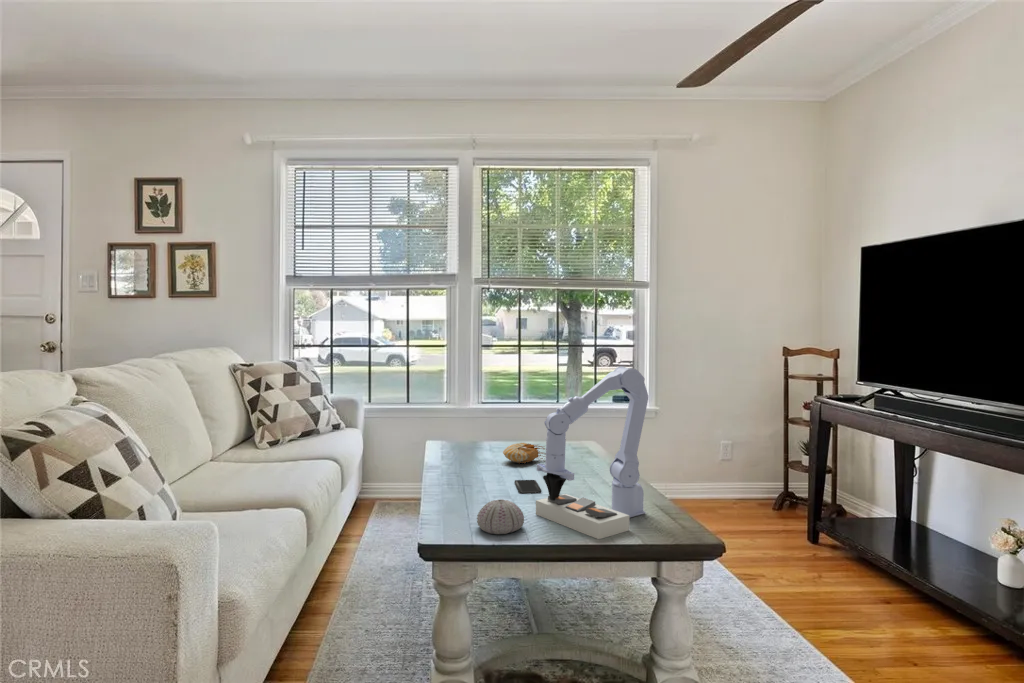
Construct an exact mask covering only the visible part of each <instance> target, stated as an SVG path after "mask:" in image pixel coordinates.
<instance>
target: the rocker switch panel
mask: <svg viewBox="0 0 1024 683" xmlns="http://www.w3.org/2000/svg"><path fill="white" fill-rule="evenodd" d="M562 495H567V496H570V497H573V498H576V499H577V500H579V499H580V498H579V497H576V496H573V495H571V494H566V493H563V494H562ZM572 503H573V502H572ZM569 504H571V503H567V504H558V503H555V502H552V501H550V500H548V497H545V498H541V499H536V500H535V515H537V516H538V517H541V518H544V519H546V520H549V521H551V522H554V523H557V524H558V525H561V526H564V527H566V528H569V529H572V530H574V531H576V532H579V533H582V534H584V535H587V536H589V537H590V538H595V539H597V540H601V539H604V538H608V537H612V536H615V535H618V534H621V533H625V532H628V531H630V518H629V515H627V514H624V513H621V512H618V511H615V510H612V508H608V507H607V506H603V505H600V504H597V503H595V504H596V505H595V506H594V507H592V508H597V509H606V510H609V511H612V512H614V513H617V515H615V516H611V517H607V518H605V517H597V516H595V515H592V514H589V513H586V510H585V511H581V512H575V511H572V510H570V509H567V508H566V506H567V505H569Z"/></svg>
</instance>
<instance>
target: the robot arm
mask: <svg viewBox="0 0 1024 683" xmlns="http://www.w3.org/2000/svg"><path fill="white" fill-rule="evenodd" d="M618 390H621V391H623V393H624V394H625V395H626V396H627V398H628V399H629V403H628V407H627V411H626V412H627V413H626V417H625V422H624V427H623V429H622V430H623V431H622V436H621V441H620V447H619V450H618V451H617V452H616V453H615V455H614V459H613V461H612V462H611V463H610V466H609V473H610V475H611V477H612V482H611V509H612V510H615V511H618V512H621V513H624V514H627V515H629V519H630V518H633V517H637V516H641V515H644V514H646V511H645V510H644V501H645V500H644V488H643V487H642V485H641V484H640V483H639V481H640V471H639V466H640V462H639V461H640V460H639V459H638V450H639V446H640V441H641V436H642V432H643V427H644V422H645V421H644V420H645V417H646V413H647V406H648V402H649V393H648V390H647V387H646V384H645V376H644V375H642V373H641V372H640V371H639V370H638V369H636V368H633V367H626V366H618V367H616V368H615V369H614V370H612V371H610V372H608V373H607V374H606V375H605V376H604V377H603V378H602V379H600V380H599V381H598V382H597V383H596V384H594V385H593V386H592V387H591V388H589V390H587V391H586V392H585V393H584V394H583V395H581V396H577V395H576V396H574V397H572V396H570V397H569V398H568V399H567V400H568V402H565V404H563V405H562V406H561V407H557V408H556V409H555V411H556V412H551V413H549V414H548V415H547V416H546V418H545V420H544V426H545V428H546V439H545V441H546V442H545V453H546V455H545V456H546V457H545V464H544V463H537V464H536V471H537V472H543V473H546V474H544V475H543V476H542V478H543V481H544V483H545V485H546V488H547V491H548V496H549V497H550V500H552V501H555V498H559V495H561V491H562V488H563V486H564V484H565V482H566V481H568V482H569V481H574V480H575V473H574V472H572V471H570V470H568V469H566V467H565V466H566V444H567V443H566V441H567V438H566V432H568V430H569V426H570V425H571V424H573V423H575V422H576V421H578V419H580V418H581V417H583V415H585V414H586V413H588V410H589V406H590V405H591V404H592V403H594V402H595V401H596V400H598V399H600V398H601V397H602V396H604V395H605V394H607V393H608V392H610V391H618Z"/></svg>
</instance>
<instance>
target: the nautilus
mask: <svg viewBox="0 0 1024 683" xmlns="http://www.w3.org/2000/svg"><path fill="white" fill-rule="evenodd" d="M539 450H543V451H544V450H545V451H546V447H545V445H543V446H542V445H541V446H540V443H539V444H531V443H528V442H519V443H513V444H511V445H508V446H507V447H505V449H504V450H503V451H502V454H503V455H504V457H505V458H506V459H507V460H509V461H511V462H513V463H518V464H520V463H524V464H526V462H527V463H530V462H532V461H535V460H534V459H537V458H540V455H543V457H541V458H540V459H539V460H543V458H544V457H545V458H546V452H541V451H539Z"/></svg>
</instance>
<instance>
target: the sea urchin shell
mask: <svg viewBox="0 0 1024 683" xmlns="http://www.w3.org/2000/svg"><path fill="white" fill-rule="evenodd" d="M476 523H477V526H478V527H479V529H481V530H482V531H484V532H485V533H487V534H491V535H507V534H509V533H515V532H516V531H518V530H520V529H521V528H522V527H523V526H524V524H525V515H524V512H523V511H522V510H521V508H520V506H518V505H517V504H516V503H514V501H511V500H506V499H503V498H502V499H501V498H500V499H495V500H491V501H489V502H487V503H486V504H485V505H483V506H482V507H481V508H480V510H479V512H478V513H477V516H476Z"/></svg>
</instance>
